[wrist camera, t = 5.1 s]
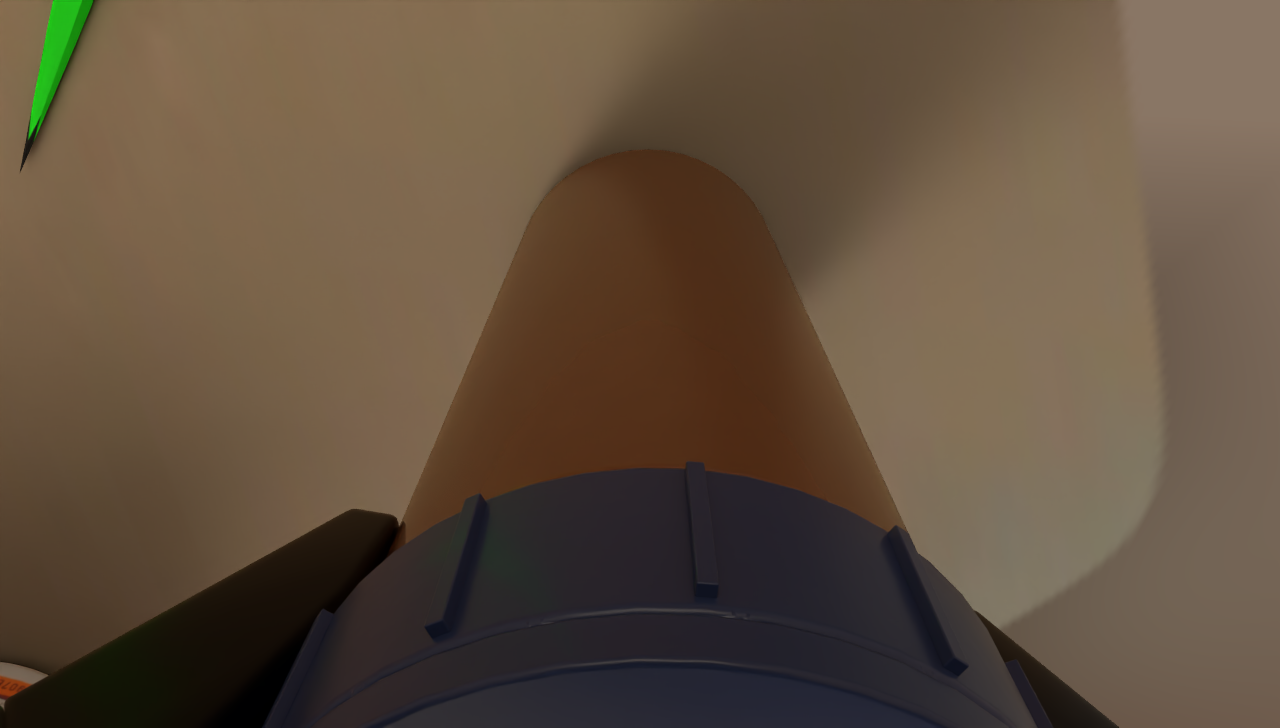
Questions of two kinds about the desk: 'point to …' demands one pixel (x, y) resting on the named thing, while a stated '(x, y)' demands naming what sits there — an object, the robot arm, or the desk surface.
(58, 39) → the leaf
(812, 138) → the desk surface
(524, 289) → the jar
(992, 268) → the desk surface
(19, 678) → the pill bottle
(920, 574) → the jar lid
